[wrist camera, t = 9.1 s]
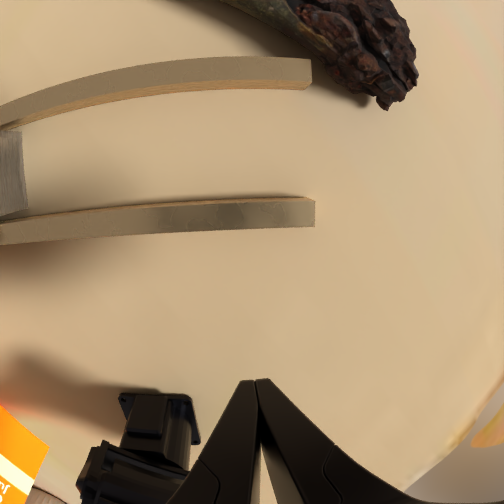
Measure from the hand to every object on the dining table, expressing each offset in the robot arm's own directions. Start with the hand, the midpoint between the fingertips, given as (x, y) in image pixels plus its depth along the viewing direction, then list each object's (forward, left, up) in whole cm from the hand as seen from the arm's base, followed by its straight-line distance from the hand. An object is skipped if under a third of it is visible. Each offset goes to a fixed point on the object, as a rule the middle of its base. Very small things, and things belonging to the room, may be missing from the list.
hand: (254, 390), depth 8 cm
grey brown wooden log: (+17, -4, -12) cm, 22 cm away
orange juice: (-22, +31, -12) cm, 40 cm away
